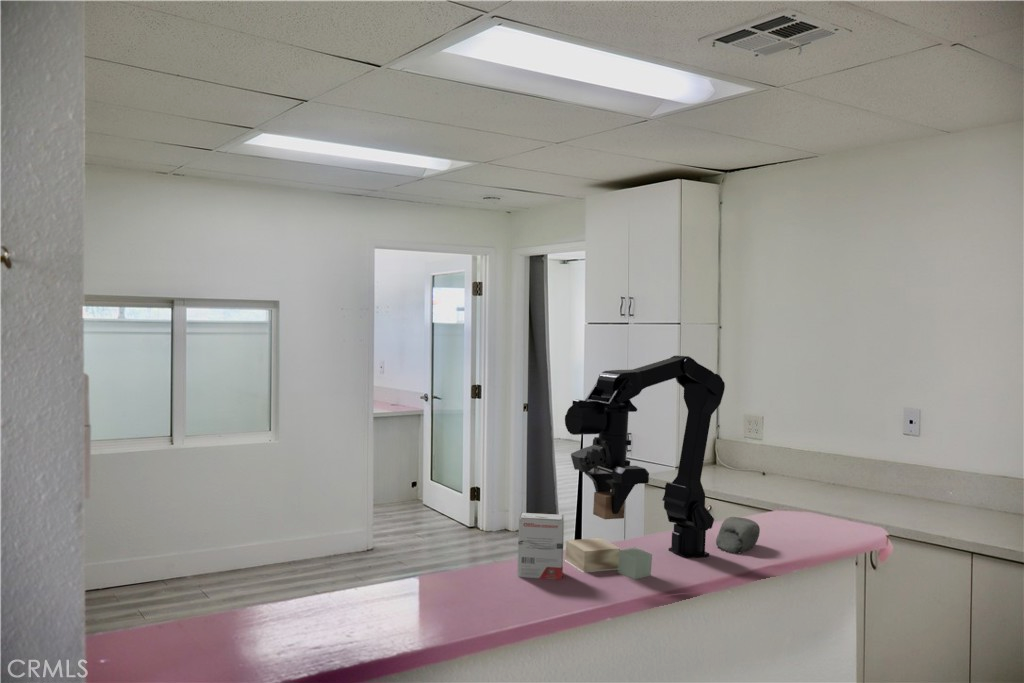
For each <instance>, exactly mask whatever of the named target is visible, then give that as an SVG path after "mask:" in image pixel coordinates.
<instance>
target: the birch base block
mask: <svg viewBox="0 0 1024 683" xmlns="http://www.w3.org/2000/svg"><path fill="white" fill-rule="evenodd" d="M620 550H621V548H620V547H618V546H616V545H614V544H613V543H611V542H609V541H607V540H605V539H603V538H602V537H595V538H583V539H569V540H565V558H564V559H565V560H566V561H568V562H569V563H571V564H573V565H574V566H576V567H577V568H579V569H580V570H582V571H584V572H585V573H587V572H586V571H596V570H606V569H616V570H618V569H617V568H618V563H619V551H620ZM566 561H565V562H566ZM569 563H568V564H569ZM606 571H607V570H606ZM596 572H597V571H596Z"/></svg>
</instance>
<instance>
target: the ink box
mask: <svg viewBox="0 0 1024 683" xmlns="http://www.w3.org/2000/svg"><path fill="white" fill-rule="evenodd" d="M564 519H565V517H564V514H556V513H555V514H552V513H551V514H549V513H533V512H532V513H530V512H521V513H520V515H519V518H518V544H517V546H518V547H517V577H519V578H531V579H544V580H558V581H559V580H563V573H564V567H563V566H564V560H563V559H564V538H565V537H564V527H565V526H564V523H565V521H564Z"/></svg>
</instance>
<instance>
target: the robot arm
mask: <svg viewBox="0 0 1024 683" xmlns="http://www.w3.org/2000/svg"><path fill="white" fill-rule="evenodd" d="M673 379H675V382H676V383H678V385H680V386H681V387H682V388H683V400H684V404H685V405H686V409H687V415H686V423H685V428H684V433H683V434H684V435H683V440H682V446H681V451H680V457H679V458H680V459H679V463H678V464H679V465H678V470H677V475H676V477H675V479H673V481H672V482H665V485H664V493H663V497H662V499H661V501H663V509H664V510H665V512H666V516H667V520H668V522H670V523H674V524H673V531H672V532H671V546H670V547H669V548H668V551H670V552H672V553H674V554H676V555H678V556H680V557H682V558H686V559H690V558H701V557H709V556H710V553H709V552H708V551H706V535H707V534H706V532H707V531H708V530H709V529H712V528H713V525H714V521H715V518H714V517H713V515H712V514H711V513H710V511H709V510H708V509H707V507H706V493H705V490H704V487H703V484H702V482H701V480H702V472H703V468H704V467H703V466H704V460H705V455H706V449H707V442H708V438H709V430H710V426H711V424H710V423H711V419H712V415H713V414H714V413H715V412H716V410H717V409H718V407H719V406H720V405H721V403H722V400H723V396H724V393H725V388H726V383H725V381H724V380H723V378H722V377H721V375H720V374H719V373H718V374H717V373H715V372H713V371H712V370H711V369H709V368H707V367H705V366H704V365H703V364H700V363H698V362H697V361H696V360H695V359H694V358H692V357H691V356H690V355H688V356H687V355H673V356H670V357H669V358H666V359H663V360H660V361H656V362H653V363H649V364H646V365H643V366H640V367H637V368H634V369H633V368H632V369H612V370H604V371H602V372H600V373H599V375H598V377H597V379H596V380H597V381H596V382H595V384H594V385H593V387H592V389H591V390H590V392H589V393H588V395H587V397H586V398H585V399H584V400H582V399H572V405H571V406H570V407H568V409H567V412H566V414H565V415H564V424H565V428H566V430H567V432H568V433H569V434H571V436H572V435H574V436H576V435H577V436H578V435H583V436H584V435H598V436H594V438H593V440H592V445H589V446H585V447H583V448H580V449H579V450H576V451H574V452H571V453H570V457H571V461H572V466H573V469H574V470H575V471H577V470H578V471H580V472H581V473H584V474H585V475H586V476H587V477H588V478H590V480H591V481H592V482H593V487H594V491H595V492H608V491H611V499H612V513H613V514H618V513H619V511H620V509H621V507H622V505H623V504H624V502H625V503H626V501H627V498H628V496H629V495H630V493H631V492H632V490H633V489H634V487H635V486H636V485H638V484H639V485H640V484H649V481H650V480H649V479H650V472H649V471H648V470H647V469H646V468H644V467H642V466H638V465H631V460H628V459H627V449H628V446H632V440H631V439H628V429H629V412H630V413H631V412H632V413H634V412H636V413H637V412H638V407H636V406H635V405H634V404H633V403H632V401H631V400H632V399H633V398H635V397H637V396H638V395H640V394H641V393H642V391H644V389H646V388H648V387H651V386H655V385H658V384H660V383H664V382H667V381H670V380H673Z"/></svg>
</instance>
